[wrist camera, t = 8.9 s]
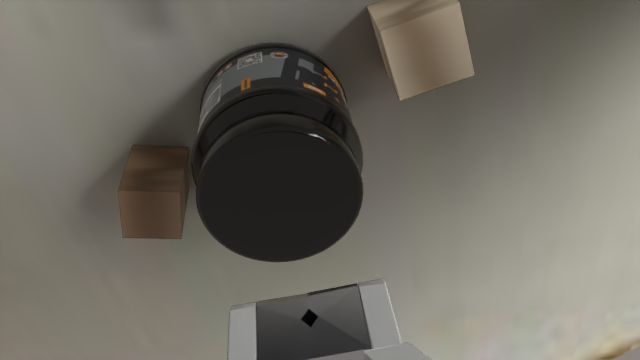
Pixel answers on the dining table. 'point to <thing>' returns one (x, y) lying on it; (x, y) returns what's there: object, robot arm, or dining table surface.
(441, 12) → the beech block
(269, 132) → the supplement container
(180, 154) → the walnut block
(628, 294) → the dining table surface
